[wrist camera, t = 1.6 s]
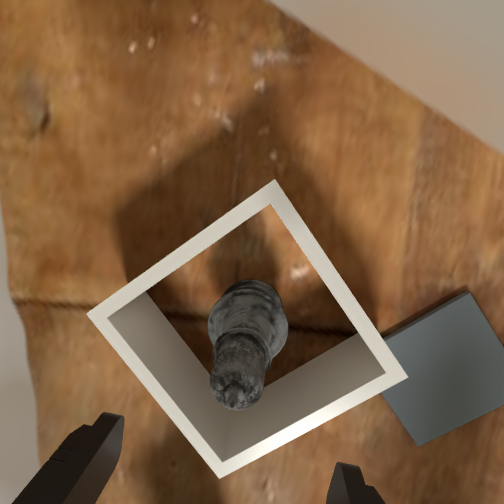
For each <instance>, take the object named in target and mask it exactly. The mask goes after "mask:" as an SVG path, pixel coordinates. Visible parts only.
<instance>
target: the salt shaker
mask: <svg viewBox="0 0 504 504" xmlns="http://www.w3.org/2000/svg"><path fill="white" fill-rule="evenodd" d="M208 334H209V337H210V340H211V342H212V344H213V346H214V348H213V360H214V366H213V369H212V371H211V375H210V390H211V393H212V395H213V397H214V398H215V400H216V401H218V402H219V403H220V404H221V405H222V406H224V407H226V408H228V409H231V410H244V409H247V408H250V407H252V406H253V405H254V404H256V403H257V402H258V400H259V399H260V397H261V395H262V392H263V389H264V376H265V374H266V372H267V371H268V369H269V368H270V365H271V362H272V358H273V357H274V356H276V355H277V354H278V353H279V352H280V351H281V349H282V348H283V346H284V345H285V342H286V339H287V336H288V322H287V318H286V314H285V312H284V311H283V306H282V302H281V299H280V297H279V295H278V293H277V292H276V291H275V290H274V289H273V288H272V287H271V286H269V285H268V284H266V283H264V282H262V281H258V280H243V281H239V282H237V283H235V284H233V285H232V286H231V287H230V288H228V289H227V290H226V292H225V293H224V295H223V297H222V298H221V299H220V300H218V301H217V302H216V303H215V305H214V307H213V308H212V310H211V312H210V315H209V319H208Z"/></svg>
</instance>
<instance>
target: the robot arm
mask: <svg viewBox="0 0 504 504" xmlns="http://www.w3.org/2000/svg"><path fill="white" fill-rule="evenodd" d="M123 429H124V416H122V415H117V414H112V413H107V412H103V413H102V414H101V415H100V416H99V418H98V419H97V420H96V421H95V423H94V424H93V425H92V426H89V425H85V424H84V425H82V426H81V427H79V428H78V429H76V430H75V431H73V432H72V433H70V434H69V435H68V436H67V438H66V439H65V440H64V441H63V442H62V444H61V445H60V446H59V447H58V450H56V451H55V452H54V453H53V454H52V456H51V457H50V458H49V461H47V462H46V463H45V464H44V465H43V466H42V468H41V469H40V470H39V471H38V473H37V474H36V475H35V476H34V477H33V479H32V480H31V481H30V482H29V483H28V485H27V486H26V487H25V488H24V489H23V491H22V492H21V493H20V494H19V496H18V497H17V498H16V499H15V500H14V502H13V503H12V504H95V503H96V501H97V499H98V497H99V496H100V494H101V492H102V490H103V489H104V487H105V485H106V483H107V482H108V480H109V478H110V476H111V474H112V473H113V471H114V469H115V467H116V465H117V462H118V460H119V457H120V453H121V448H122V438H123ZM326 504H385V502H384V501H383V499H382V498H381V496H380V495H379V494H378V492H377V491H376V489H375V488H374V487H373V486H368V485H365V482H364V479H363V475H362V472H361V469H360V467H359V466H356V465H351V464H346V463H341V462H337V463H336V466H335V469H334V473H333V476H332V480H331V483H330V487H329V490H328V494H327V500H326Z"/></svg>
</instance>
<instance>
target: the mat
mask: <svg viewBox="0 0 504 504" xmlns="http://www.w3.org/2000/svg"><path fill="white" fill-rule="evenodd" d="M383 340H384V342H385V343H386V345H387V346H388V348H389V349H390V351H391V352H392V354H393V355H394V357H395V358H396V360H397V361H398V363H399V364H400V365H401V367H402V368H403V370H404V371H405V373H406V374H407V376H408V378H406V379H404V380H403V381H401V382H399V383H397V384H395V385H393V386H391V387H390V388H388V389H386V390H384V391H382V392H381V394H382V395H383V397H384V398H385V400H386V401H387V403H388V404H389V405H390V407H391V408H392V410H393V411H394V413H395V414H396V416H397V417H398V418H399V420H400V421H401V423H402V424H403V426H404V427H405V429H406V430H407V431H408V433H409V434H410V436H411V437H412V439H413V440H414V442H415V443H416V444H417V446H418V447H420V446H422V445H424V444H426V443H428V442H430V441H432V440H434V439H436V438H438V437H440V436H442V435H444V434H446V433H448V432H450V431H452V430H454V429H456V428H458V427H460V426H462V425H464V424H466V423H468V422H470V421H472V420H475V419H477V418H479V417H481V416H483V415H485V414H487V413H489V412H491V411H493V410H495V409H497V408H499V407H501V406H503V405H504V347H503V346H502V344H501V342H500V341H499V339H498V337H497V336H496V334H495V333H494V331H493V329H492V328H491V326H490V324H489V323H488V321H487V320H486V318H485V316H484V315H483V313H482V312H481V310H480V308H479V307H478V305H477V303H476V302H475V300H474V299H473V297H472V295H471V294H470V293H469V292H467V291H465V292H463V293H461V294H460V295H458V296H456V297H454V298H453V299H451V300H449V301H447V302H446V303H444V304H442V305H440V306H439V307H437V308H435V309H433V310H432V311H430V312H428V313H426V314H425V315H423V316H421V317H419V318H418V319H416V320H414V321H412V322H411V323H409V324H407V325H405V326H404V327H402V328H400V329H398V330H397V331H395V332H393V333H391V334H390V335H388V336H386V337H384V338H383Z"/></svg>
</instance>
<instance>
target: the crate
mask: <svg viewBox="0 0 504 504" xmlns="http://www.w3.org/2000/svg"><path fill="white" fill-rule="evenodd" d="M269 204H271V205H272V207H273V208H274V209H275V211H276V212H277V214H278V215H279V217H280V218H281V220H282V221H283V223H284V224H285V226H286V227H287V228H288V230H289V231H290V233H291V234H292V236H293V237H294V239H295V240H296V242H297V243H298V245H299V246H300V248H301V249H302V250H303V252H304V253H305V255H306V256H307V258H308V259H309V261H310V262H311V264H312V265H313V267H314V268H315V269H316V271H317V272H318V274H319V275H320V277H321V278H322V280H323V281H324V283H325V284H326V286H327V287H328V288H329V290H330V291H331V293H332V294H333V296H334V297H335V299H336V300H337V302H338V303H339V305H340V306H341V308H342V309H343V310H344V312H345V313H346V315H347V316H348V318H349V319H350V321H351V322H352V324H353V325H354V327H355V328H356V329H357V331H358V332H359V333H357V334H355V335H354V336H352V337H350V338H348V339H347V340H345V341H343V342H341V343H340V344H338V345H336V346H335V347H333V348H331V349H329V350H328V351H326V352H324V353H323V354H321V355H319V356H317V357H316V358H314V359H312V360H311V361H309V362H307V363H305V364H304V365H302V366H300V367H299V368H297V369H295V370H293V371H292V372H290V373H288V374H287V375H285V376H283V377H281V378H280V379H278V380H276V381H274V382H273V383H271V384H269V385H268V386H266V387H264V389H263V392H262V395H261V397H260V399H259V400H258V402H257V403H256V404H254V405H253V406H252V407H250V408H247V409H244V410H231V409H228V408H226V407H224V406H222V405H221V404H220V403H219V402H218V401H216V400H215V398H214V397H213V395H212V393H211V390H210V374H209V373H208V372H207V370H206V369H205V368H204V366H203V365H202V364H201V362H200V361H199V360H198V359H197V357H196V356H195V355H194V353H193V352H192V351H191V350H190V348H189V347H188V346H187V344H186V343H185V342H184V340H183V339H182V338H181V337H180V335H179V334H178V333H177V331H176V330H175V329H174V327H173V326H172V325H171V324H170V322H169V321H168V320H167V318H166V317H165V316H164V315H163V313H162V312H161V311H160V309H159V308H158V307H157V305H156V304H155V303H154V302H153V300H152V299H151V298H150V296H149V295H148V294H147V292H146V290H147V289H149V288H150V287H152V286H153V285H154V284H156V283H157V282H159V281H160V280H162V279H163V278H164V277H166V276H167V275H169V274H170V273H172V272H173V271H174V270H176V269H177V268H179V267H180V266H182V265H183V264H184V263H186V262H187V261H189V260H190V259H192V258H193V257H194V256H196V255H197V254H199V253H200V252H202V251H203V250H204V249H206V248H207V247H209V246H210V245H212V244H213V243H214V242H216V241H217V240H219V239H220V238H222V237H223V236H224V235H226V234H227V233H229V232H230V231H232V230H233V229H234V228H236V227H237V226H239V225H240V224H242V223H243V222H244V221H246V220H247V219H249V218H250V217H252V216H253V215H254V214H256V213H257V212H259V211H260V210H262V209H263V208H264V207H266V206H267V205H269ZM87 316H88V317H89V318H90V319H91V321H92V322H93V323H94V324H95V326H96V327H97V328H98V329H99V330H100V332H101V333H102V334H103V335H104V337H105V338H106V339H107V340H108V342H109V343H110V344H111V345H112V347H113V348H114V349H115V350H116V351H117V353H118V354H119V355H120V356H121V358H122V359H123V360H124V361H125V363H126V364H127V365H128V366H129V368H130V369H131V370H132V371H133V373H134V374H135V375H136V376H137V377H138V379H139V380H140V381H141V382H142V384H143V385H144V386H145V387H146V389H147V390H148V391H149V392H150V394H151V395H152V396H153V397H154V398H155V400H156V401H157V402H158V403H159V405H160V406H161V407H162V408H163V410H164V411H165V412H166V413H167V415H168V416H169V417H170V418H171V420H172V421H173V422H174V423H175V424H176V426H177V427H178V428H179V429H180V431H181V432H182V433H183V434H184V436H185V437H186V438H187V439H188V441H189V442H190V443H191V444H192V445H193V447H194V448H195V449H196V450H197V452H198V453H199V454H200V455H201V457H202V458H203V459H204V460H205V462H206V463H207V464H208V465H209V467H210V468H211V469H212V470H213V471H214V473H215V474H216V475H217V476H218V478H219V479H220V478H222V477H224V476H226V475H228V474H230V473H231V472H233V471H235V470H237V469H239V468H241V467H243V466H244V465H246V464H248V463H250V462H252V461H254V460H256V459H257V458H259V457H261V456H263V455H265V454H267V453H269V452H271V451H272V450H274V449H276V448H278V447H280V446H282V445H284V444H285V443H287V442H289V441H291V440H293V439H295V438H297V437H298V436H300V435H302V434H304V433H306V432H308V431H310V430H311V429H313V428H315V427H317V426H319V425H321V424H323V423H324V422H326V421H328V420H330V419H332V418H334V417H336V416H337V415H339V414H341V413H343V412H345V411H347V410H349V409H350V408H352V407H354V406H356V405H358V404H360V403H362V402H363V401H365V400H367V399H369V398H371V397H373V396H375V395H377V394H378V393H380V392H382V391H384V390H386V389H388V388H390V387H391V386H393V385H395V384H397V383H399V382H401V381H403V380H404V379H406V378H408V376H407V374H406V373H405V371H404V370H403V368H402V367H401V365H400V364H399V363H398V361H397V360H396V358H395V357H394V355H393V354H392V352H391V351H390V349H389V348H388V346H387V345H386V343H385V342H384V340H383V339H382V337H381V336H380V334H379V333H378V331H377V330H376V328H375V327H374V325H373V324H372V322H371V321H370V319H369V318H368V317H367V315H366V314H365V312H364V311H363V309H362V308H361V306H360V305H359V303H358V302H357V300H356V299H355V297H354V296H353V294H352V293H351V291H350V290H349V288H348V287H347V285H346V284H345V282H344V281H343V279H342V278H341V276H340V275H339V273H338V272H337V270H336V269H335V268H334V266H333V265H332V263H331V262H330V260H329V259H328V257H327V256H326V254H325V253H324V251H323V250H322V248H321V247H320V245H319V244H318V242H317V241H316V239H315V238H314V236H313V235H312V233H311V232H310V230H309V229H308V227H307V226H306V224H305V223H304V222H303V220H302V219H301V217H300V216H299V214H298V213H297V211H296V210H295V208H294V207H293V205H292V204H291V202H290V201H289V199H288V198H287V196H286V195H285V193H284V192H283V190H282V189H281V187H280V186H279V184H278V183H277V181H276V180H275V179H274V180H273V181H271V182H270V183H268V184H267V185H266V186H264V187H263V188H261V189H260V190H259V191H257V192H256V193H254V194H253V195H252V196H250V197H249V198H247V199H246V200H245V201H243V202H242V203H240V204H239V205H238V206H236V207H235V208H233V209H232V210H231V211H229V212H228V213H226V214H225V215H224V216H222V217H221V218H219V219H218V220H217V221H215V222H214V223H212V224H211V225H210V226H208V227H207V228H205V229H204V230H203V231H201V232H200V233H198V234H197V235H196V236H194V237H193V238H191V239H190V240H189V241H187V242H186V243H184V244H183V245H182V246H180V247H179V248H177V249H176V250H175V251H173V252H172V253H170V254H169V255H168V256H166V257H165V258H163V259H162V260H161V261H159V262H158V263H156V264H155V265H154V266H152V267H151V268H149V269H148V270H147V271H145V272H144V273H142V274H141V275H140V276H138V277H137V278H135V279H134V280H133V281H131V282H130V283H128V284H127V285H126V286H124V287H123V288H121V289H120V290H119V291H117V292H116V293H115V294H113V295H112V296H110V297H109V298H108V299H106V300H105V301H103V302H102V303H101V304H99V305H98V306H96V307H95V308H94V309H92V310H91V311H89V312H88V313H87Z"/></svg>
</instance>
